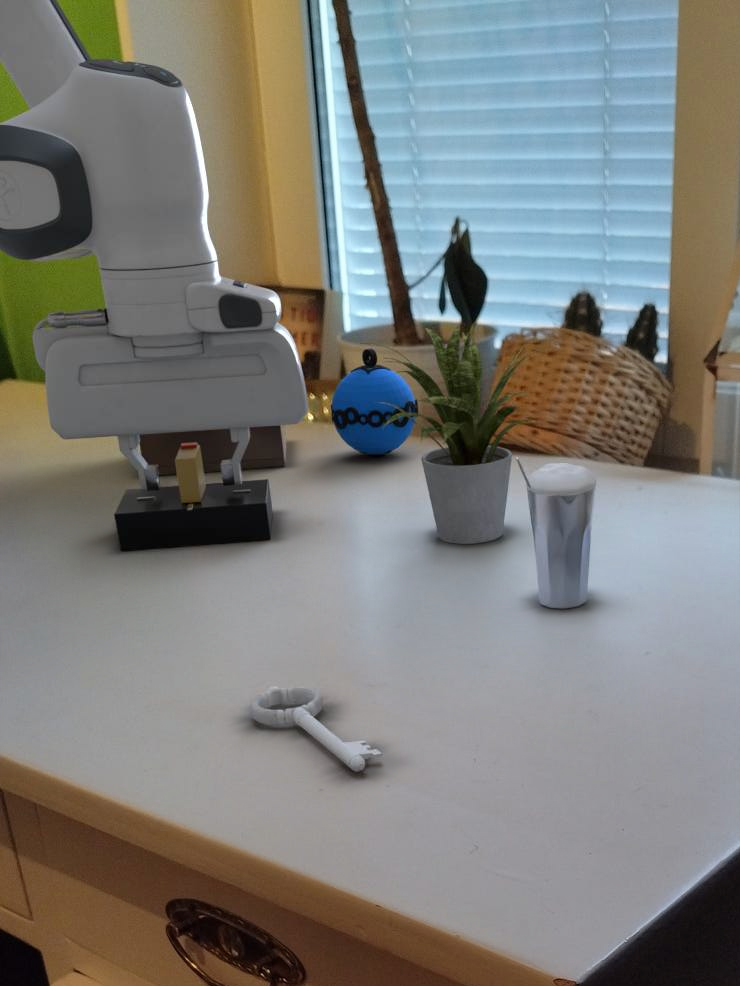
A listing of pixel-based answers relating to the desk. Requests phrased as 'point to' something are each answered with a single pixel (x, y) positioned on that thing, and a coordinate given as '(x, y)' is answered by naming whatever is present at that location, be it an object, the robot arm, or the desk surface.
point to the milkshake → (561, 531)
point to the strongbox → (216, 448)
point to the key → (309, 722)
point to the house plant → (464, 444)
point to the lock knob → (190, 473)
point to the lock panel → (194, 516)
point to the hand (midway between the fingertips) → (192, 486)
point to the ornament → (373, 408)
